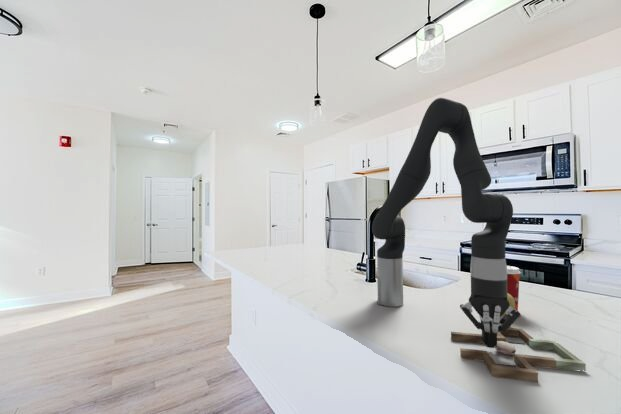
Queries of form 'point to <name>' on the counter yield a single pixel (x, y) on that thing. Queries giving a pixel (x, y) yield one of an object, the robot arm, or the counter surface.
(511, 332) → the brown green zigzag frame
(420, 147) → the robot arm
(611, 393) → the counter surface
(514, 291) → the coffee cup
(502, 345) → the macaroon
